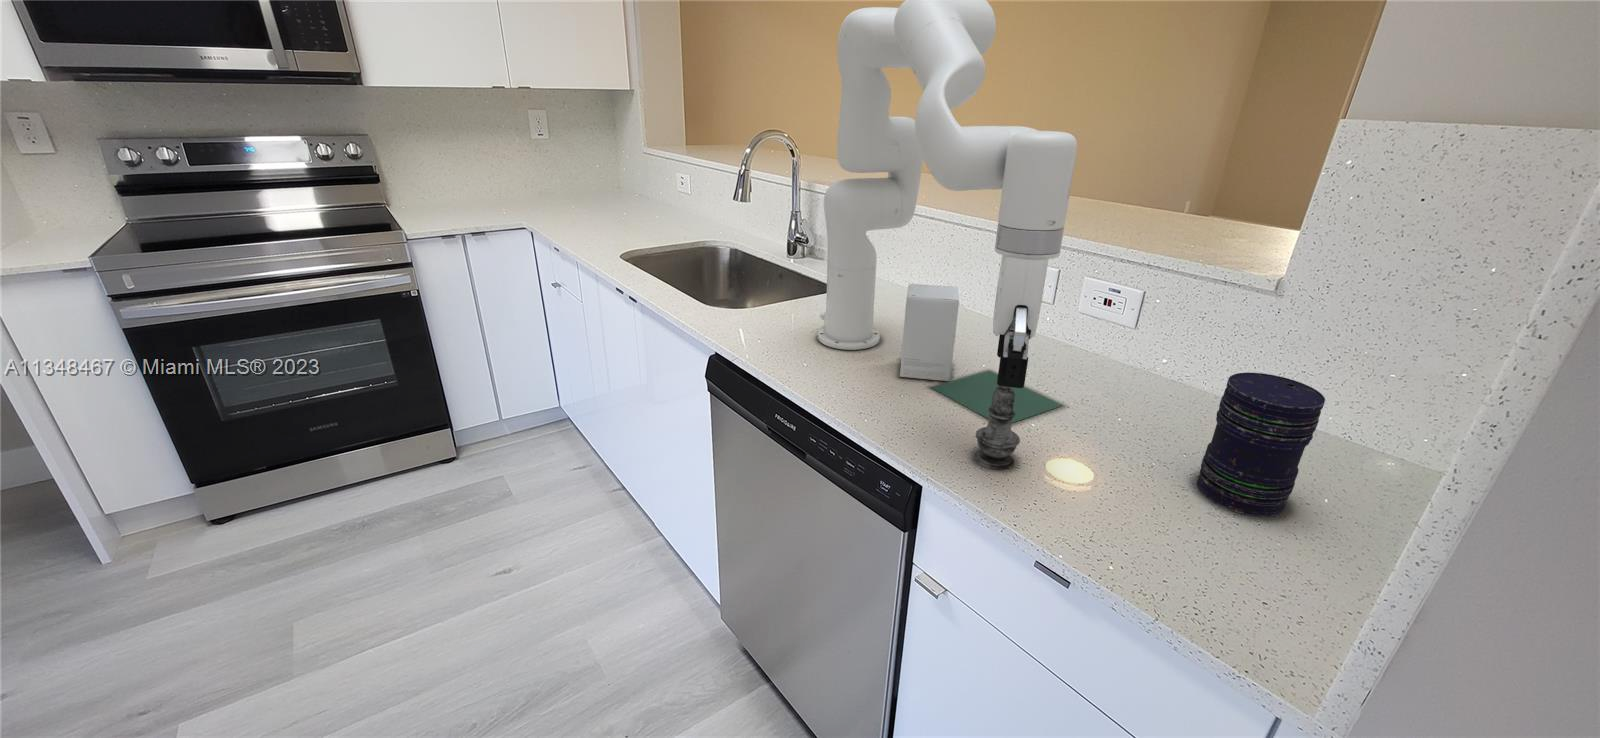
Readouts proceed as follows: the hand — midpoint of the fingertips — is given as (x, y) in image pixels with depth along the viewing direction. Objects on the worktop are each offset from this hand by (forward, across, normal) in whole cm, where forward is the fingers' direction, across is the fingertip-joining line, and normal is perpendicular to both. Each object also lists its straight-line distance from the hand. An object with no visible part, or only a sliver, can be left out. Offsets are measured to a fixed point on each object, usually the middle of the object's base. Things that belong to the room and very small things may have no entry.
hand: (1009, 371), depth 84 cm
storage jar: (+14, -1, +30) cm, 33 cm away
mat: (+13, -21, 0) cm, 25 cm away
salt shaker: (+14, 0, 0) cm, 14 cm away
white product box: (+13, -28, -13) cm, 34 cm away
